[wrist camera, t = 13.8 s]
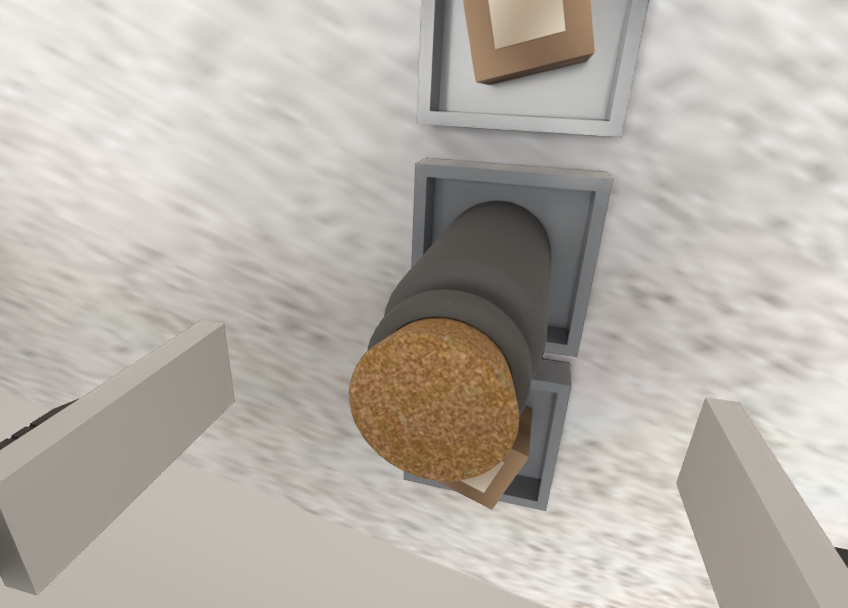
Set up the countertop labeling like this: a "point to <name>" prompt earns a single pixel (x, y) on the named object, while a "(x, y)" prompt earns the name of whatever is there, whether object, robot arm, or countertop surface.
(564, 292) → the dish
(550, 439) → the dish
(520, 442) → the cube
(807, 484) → the countertop surface
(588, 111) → the dish
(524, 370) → the bottle
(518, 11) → the cube
